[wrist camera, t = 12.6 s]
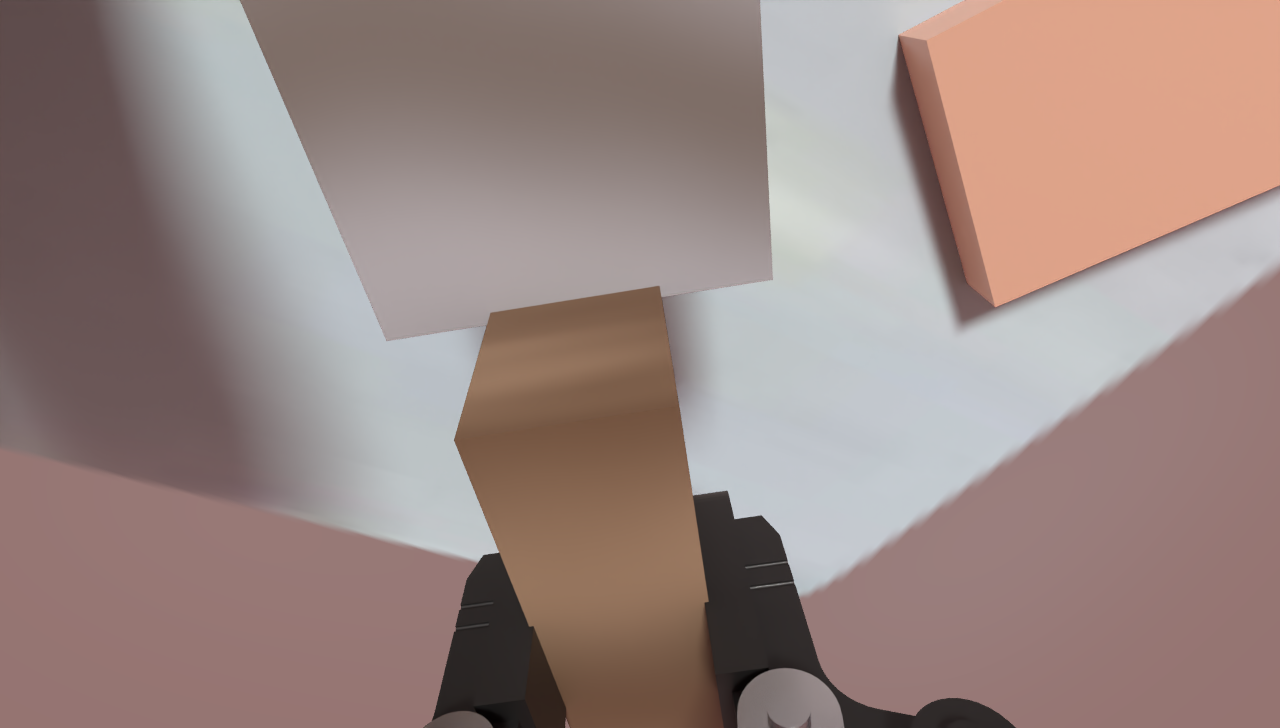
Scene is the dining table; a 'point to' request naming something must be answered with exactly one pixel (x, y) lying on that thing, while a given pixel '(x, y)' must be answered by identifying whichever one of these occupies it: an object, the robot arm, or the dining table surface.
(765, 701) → the robot arm
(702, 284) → the wooden bar with blade
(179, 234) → the dining table surface
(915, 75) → the tile
